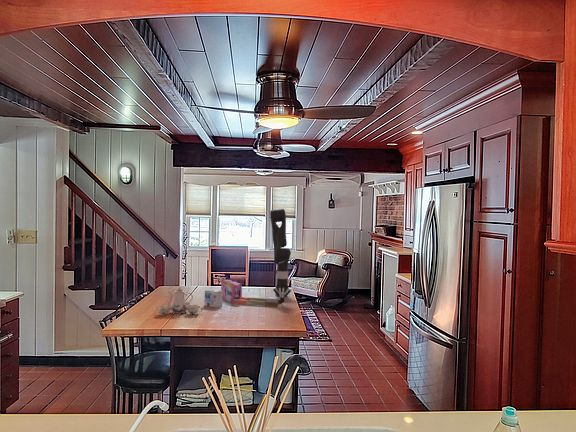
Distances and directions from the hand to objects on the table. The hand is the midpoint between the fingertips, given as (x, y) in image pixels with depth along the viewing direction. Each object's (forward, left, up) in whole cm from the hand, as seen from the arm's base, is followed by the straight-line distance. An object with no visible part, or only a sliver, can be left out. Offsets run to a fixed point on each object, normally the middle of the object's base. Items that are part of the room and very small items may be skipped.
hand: (282, 302), depth 312 cm
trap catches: (0, -28, -2) cm, 28 cm away
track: (0, -17, -3) cm, 17 cm away
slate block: (0, -7, -2) cm, 7 cm away
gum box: (-14, -43, -3) cm, 45 cm away
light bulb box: (+11, -46, -3) cm, 47 cm away
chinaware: (+39, -56, -3) cm, 69 cm away
